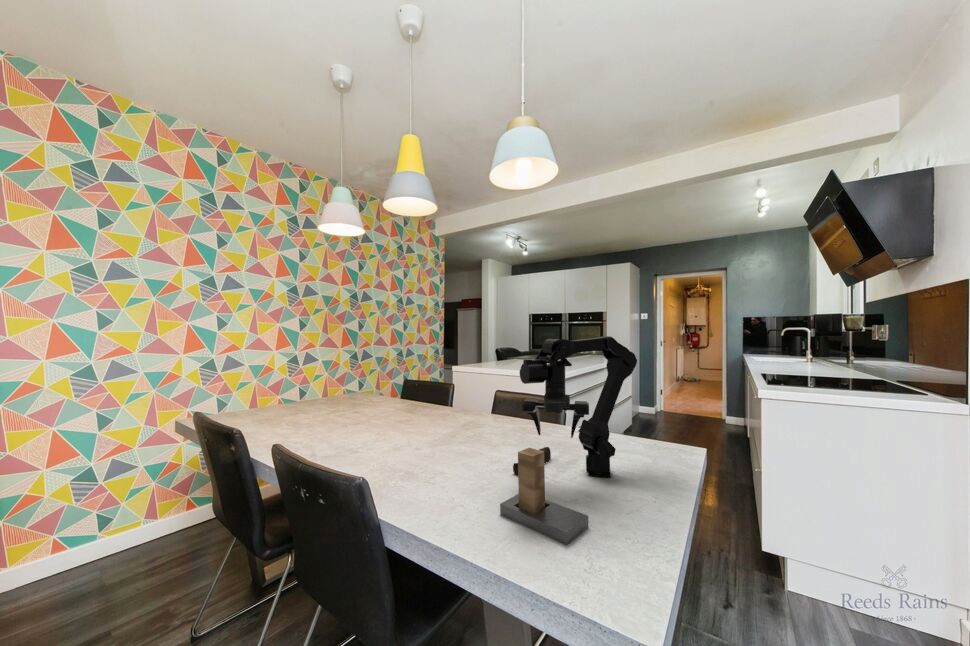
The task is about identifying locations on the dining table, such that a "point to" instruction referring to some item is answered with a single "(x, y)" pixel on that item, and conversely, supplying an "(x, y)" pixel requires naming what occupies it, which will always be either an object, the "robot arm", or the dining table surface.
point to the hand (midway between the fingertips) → (555, 436)
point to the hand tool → (546, 458)
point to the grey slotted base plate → (548, 519)
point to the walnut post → (531, 480)
